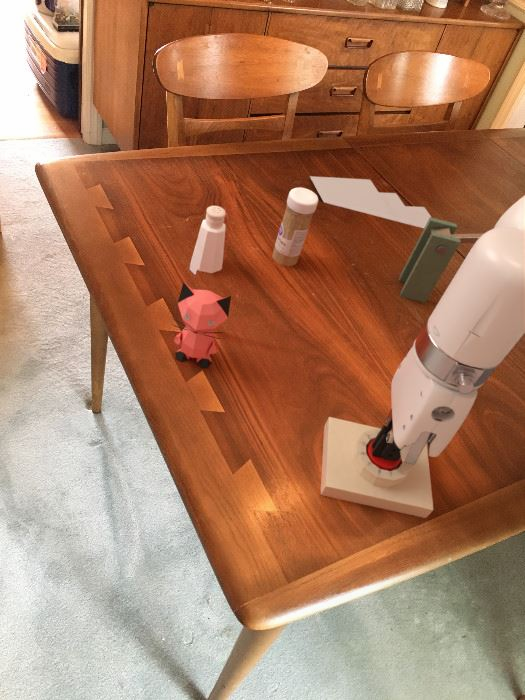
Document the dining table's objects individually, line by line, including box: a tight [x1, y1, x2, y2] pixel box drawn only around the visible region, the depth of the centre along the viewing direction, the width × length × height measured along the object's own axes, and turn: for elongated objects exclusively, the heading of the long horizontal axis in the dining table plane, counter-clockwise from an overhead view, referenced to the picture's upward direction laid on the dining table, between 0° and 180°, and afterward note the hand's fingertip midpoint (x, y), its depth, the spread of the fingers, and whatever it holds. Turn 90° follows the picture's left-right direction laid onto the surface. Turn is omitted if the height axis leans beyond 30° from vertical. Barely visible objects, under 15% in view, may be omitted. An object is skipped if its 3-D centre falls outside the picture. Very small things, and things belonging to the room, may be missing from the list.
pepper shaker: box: [189, 205, 227, 276], centre depth 84 cm, size 5×5×11 cm
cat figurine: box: [170, 281, 232, 369], centre depth 71 cm, size 7×7×12 cm
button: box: [366, 440, 401, 471], centre depth 66 cm, size 4×4×2 cm
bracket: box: [398, 216, 462, 303], centre depth 89 cm, size 12×9×14 cm
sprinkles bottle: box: [271, 187, 319, 267], centre depth 88 cm, size 5×5×13 cm
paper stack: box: [309, 175, 432, 229], centre depth 109 cm, size 23×25×1 cm
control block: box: [320, 416, 434, 519], centre depth 67 cm, size 13×10×4 cm
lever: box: [430, 228, 485, 244], centre depth 85 cm, size 13×6×2 cm, turn 83°
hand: (384, 452), depth 66 cm, fingers closed
